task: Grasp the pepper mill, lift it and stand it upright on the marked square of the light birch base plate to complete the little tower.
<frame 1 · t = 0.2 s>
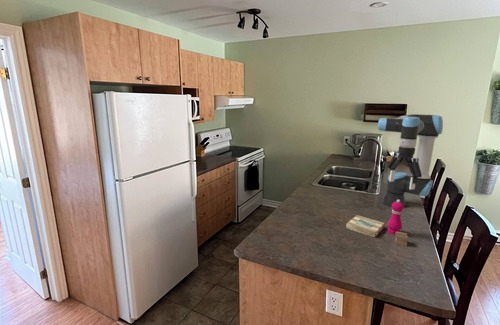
hand: (401, 185, 146), 29 cm above the kitchen counter, fingers open, 13 cm apart
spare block: (400, 243, 142), on the kitchen counter
base plate: (364, 227, 158), on the kitchen counter
pepper mill: (393, 232, 154), on the kitchen counter
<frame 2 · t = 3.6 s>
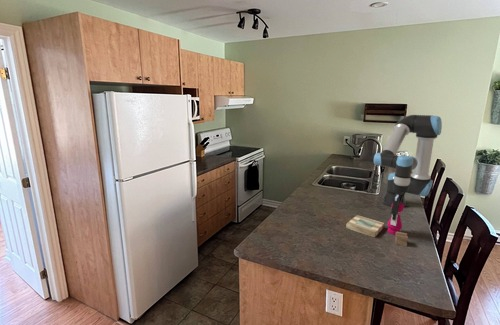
hand: (395, 222, 152), 6 cm above the kitchen counter, fingers closed on pepper mill, 6 cm apart
pepper mill: (393, 232, 154), on the kitchen counter, touching gripper
everything else where it was.
when the fingers open (10 cm above the kitchen counter, at t = 10.5 s): pepper mill drops 1 cm, resting on base plate.
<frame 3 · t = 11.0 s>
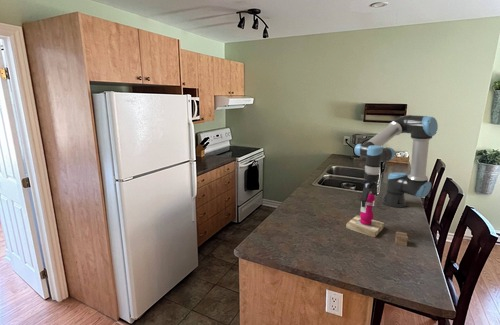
hand: (367, 208, 155), 12 cm above the kitchen counter, fingers open, 13 cm apart
pepper mill: (365, 223, 158), point 3 cm above the kitchen counter, touching base plate
everything else where it was.
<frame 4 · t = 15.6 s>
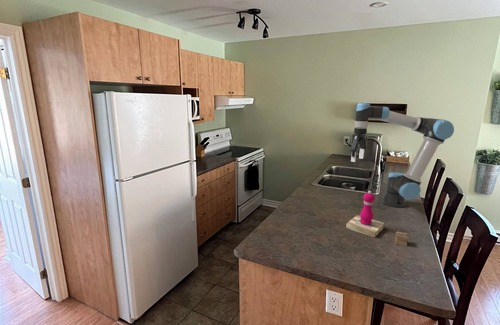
hand: (357, 160, 177), 35 cm above the kitchen counter, fingers open, 13 cm apart
nothing on the kitchen counter moved.
at the end: pepper mill inside the target area on the base plate (0.1 cm from its centre), point 2.9 cm above the base plate's base; pepper mill tilted 0°; pepper mill touching base plate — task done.
